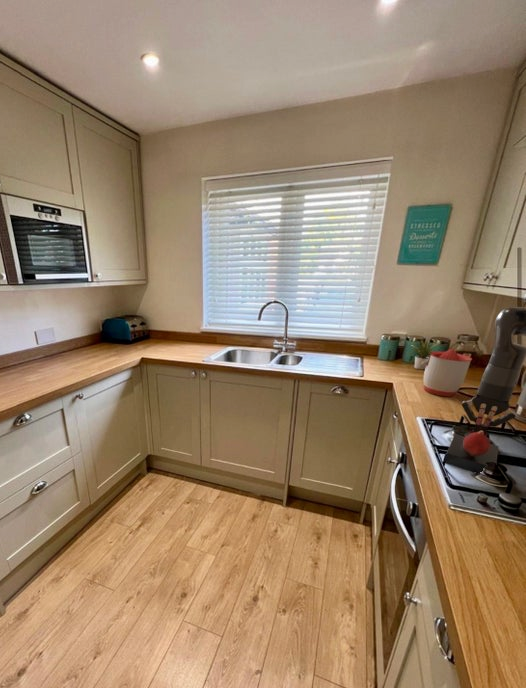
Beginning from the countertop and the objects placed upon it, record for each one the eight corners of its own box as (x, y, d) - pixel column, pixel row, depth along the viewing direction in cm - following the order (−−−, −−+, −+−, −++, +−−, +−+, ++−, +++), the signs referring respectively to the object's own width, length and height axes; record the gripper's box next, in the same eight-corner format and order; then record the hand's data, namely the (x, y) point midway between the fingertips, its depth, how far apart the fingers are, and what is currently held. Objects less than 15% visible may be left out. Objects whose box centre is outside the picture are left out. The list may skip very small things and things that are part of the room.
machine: (451, 441, 106) (456, 428, 104) (495, 454, 100) (501, 440, 98) (443, 462, 94) (448, 447, 93) (491, 478, 88) (498, 462, 86)
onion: (454, 450, 95) (463, 425, 92) (472, 450, 95) (481, 425, 92) (471, 461, 89) (481, 435, 86) (490, 461, 90) (500, 435, 87)
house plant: (425, 364, 192) (433, 336, 185) (441, 371, 179) (450, 342, 173) (401, 364, 191) (409, 336, 185) (416, 371, 178) (424, 341, 172)
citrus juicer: (416, 383, 160) (428, 342, 153) (459, 391, 151) (474, 348, 143) (412, 392, 148) (425, 348, 141) (459, 401, 139) (475, 355, 132)
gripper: (529, 383, 91) (506, 439, 97) (471, 372, 99) (453, 424, 105) (530, 390, 85) (505, 448, 92) (468, 378, 93) (449, 432, 100)
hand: (477, 435), depth 99 cm, fingers closed
